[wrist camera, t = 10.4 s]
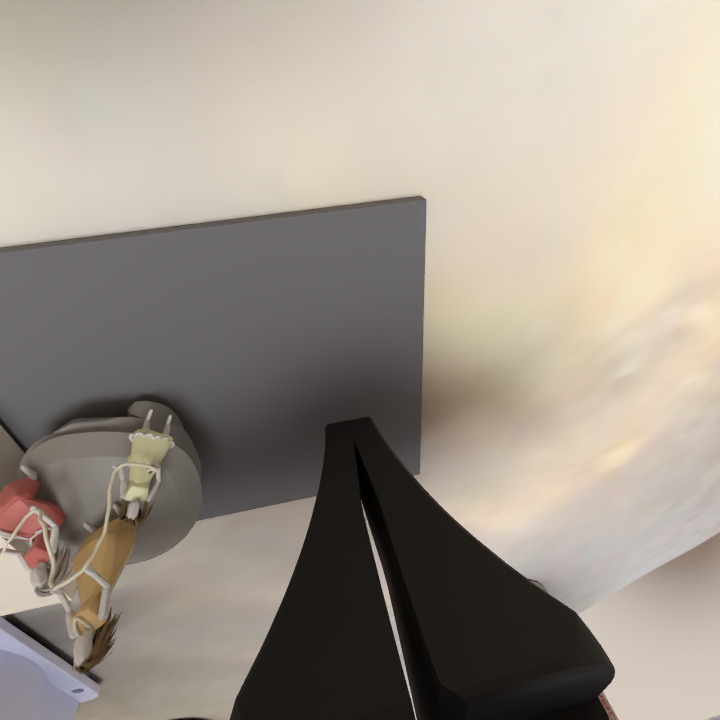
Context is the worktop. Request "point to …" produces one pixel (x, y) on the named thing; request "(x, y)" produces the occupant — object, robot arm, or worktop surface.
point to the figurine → (101, 510)
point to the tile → (20, 548)
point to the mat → (226, 338)
